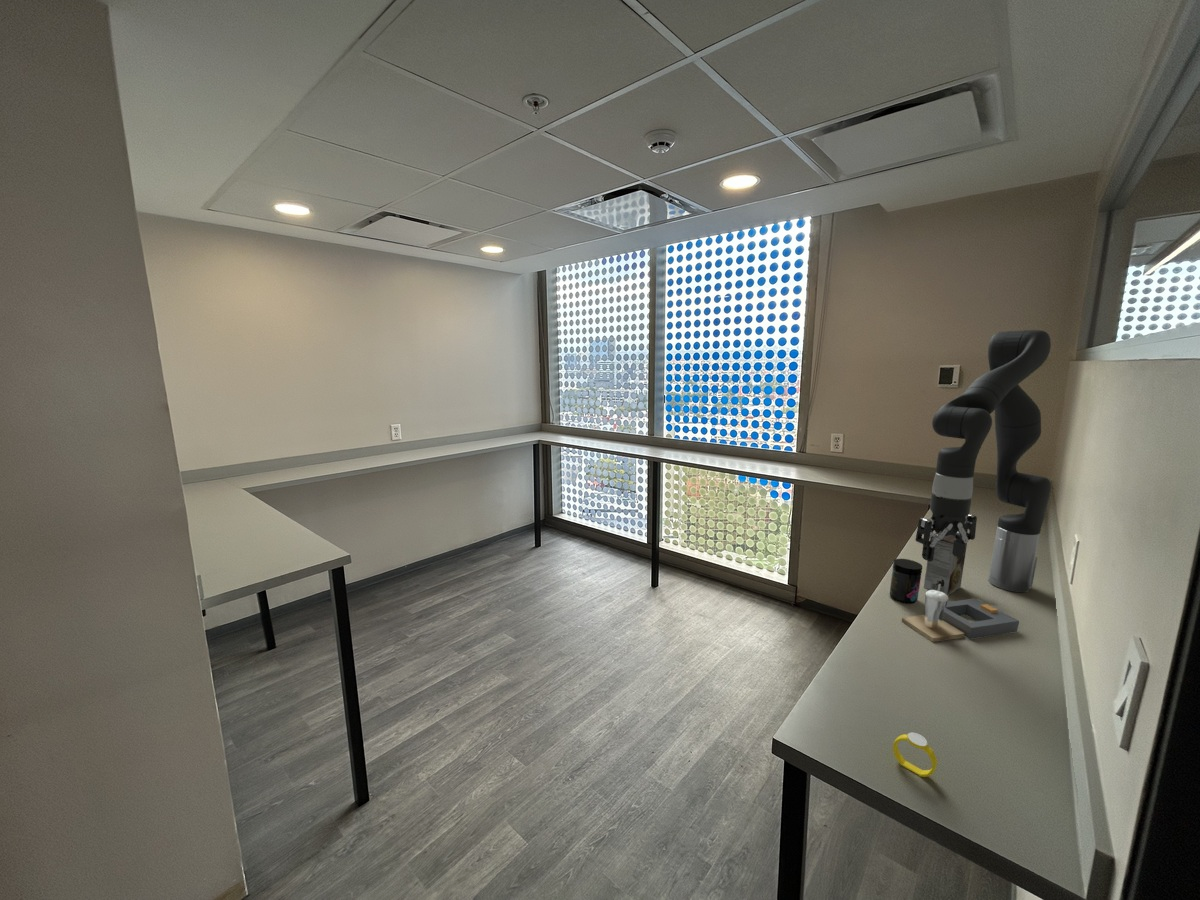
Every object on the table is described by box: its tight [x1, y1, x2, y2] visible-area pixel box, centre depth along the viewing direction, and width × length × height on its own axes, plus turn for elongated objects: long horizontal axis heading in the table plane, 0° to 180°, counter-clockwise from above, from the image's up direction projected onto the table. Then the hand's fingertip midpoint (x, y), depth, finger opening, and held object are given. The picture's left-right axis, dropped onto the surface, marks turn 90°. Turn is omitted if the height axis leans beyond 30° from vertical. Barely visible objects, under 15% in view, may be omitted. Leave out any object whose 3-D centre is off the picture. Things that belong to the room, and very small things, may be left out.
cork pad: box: [901, 614, 965, 643], centre depth 118 cm, size 9×9×1 cm
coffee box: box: [923, 532, 968, 597], centre depth 137 cm, size 9×6×16 cm
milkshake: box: [924, 584, 949, 629], centre depth 117 cm, size 4×5×10 cm
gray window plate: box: [942, 598, 1020, 640], centre depth 120 cm, size 14×11×4 cm
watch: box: [892, 731, 938, 778], centre depth 78 cm, size 6×3×6 cm, turn 40°
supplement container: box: [889, 558, 923, 605], centre depth 132 cm, size 7×7×10 cm
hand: (942, 558), depth 114 cm, fingers open, 8 cm apart
